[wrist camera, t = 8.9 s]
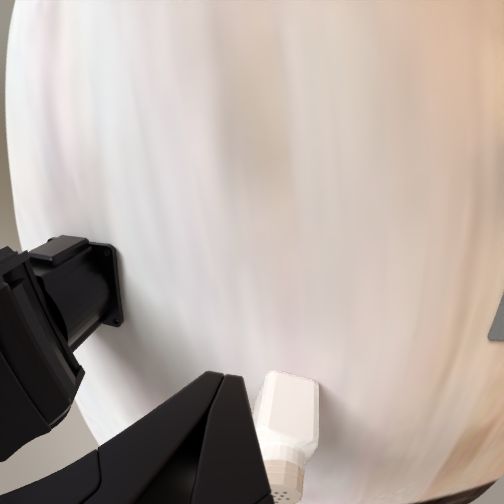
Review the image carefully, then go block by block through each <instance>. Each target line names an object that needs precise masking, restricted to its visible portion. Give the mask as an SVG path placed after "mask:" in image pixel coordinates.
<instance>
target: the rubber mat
mask: <svg viewBox="0 0 504 504" xmlns="http://www.w3.org/2000/svg"><path fill="white" fill-rule="evenodd" d="M488 338H489V339H490V340H504V293H503V297H502V299H501V302H500V305H499V308H498V311H497V314H496V316H495V319H494V322H493V324H492V327H491V329H490V332H489V334H488Z"/></svg>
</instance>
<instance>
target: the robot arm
mask: <svg viewBox="0 0 504 504" xmlns="http://www.w3.org/2000/svg"><path fill="white" fill-rule="evenodd" d="M107 250H109V252H110V254H108V252H107ZM116 319H117V320H118V321H116ZM101 324H106V325H110V326H114V327H120V326H121V325H122V324H123V313H122V306H121V298H120V290H119V281H118V272H117V262H116V251H115V248H114V247H113V246H112V245H111V244H105V243H96V242H89V240H88V239H87V238H82V237H73V236H65V235H62V236H60V237H58V238H56V237H52V238H50V239H49V240H48V241H47V243H45V244H43V245H41V246H39V247H37V248H35V249H33V250H31V251H29V252H28V251H27V250H26V251H23V252H21V253H19V254H18V252H17V251H16V252H14V251H13V250H12V249H10V248H9V247H8V246H7V247H4V248H2V249H0V462H3V461H5V460H7V459H8V458H9V457H10V456H11V455H12V454H14V453H15V452H16V451H17V450H18V449H20V448H21V447H22V446H23V445H25V444H26V443H28V442H30V441H31V440H33V439H35V438H36V437H39V436H41V435H44V434H46V433H49V432H50V431H51V429H53V428H54V427H55V426H57V425H58V424H59V423H60V422H61V421H62V420H63V419H64V418H65V417H66V416H67V414H68V412H69V410H70V408H71V405H72V403H73V400H74V398H75V396H76V393H77V391H78V388H79V386H80V384H81V381H82V379H83V377H84V375H85V371H84V369H83V368H82V366H81V365H79V363H78V361H77V360H76V358H75V356H74V354H73V352H74V351H75V350H76V349H77V348H78V347H79V346H80V345H81V344H82V343H83V342H84V341H85V340H86V339H87V338H88V337H89V336H90V335H91V334H92V333H93V332H94V331H95V330H96V329H97V328H98V327H99V326H100V325H101ZM271 493H272V491H271V487H270V484H269V480H268V476H267V472H266V468H265V465H264V461H263V457H262V453H261V449H260V445H259V441H258V437H257V433H256V429H255V425H254V421H253V417H252V412H251V408H250V404H249V400H248V396H247V392H246V387H245V383H244V379H243V377H242V376H237V375H230V374H226V375H225V376H224V374H223V373H219V372H213V371H206V372H205V373H203V374H202V375H201V376H199V377H198V378H197V379H195V380H194V381H193V382H191V383H190V384H188V385H187V386H186V387H184V388H183V389H182V390H180V391H179V392H178V393H176V394H175V395H173V396H172V397H171V398H169V399H168V400H167V401H165V402H164V403H162V404H161V405H160V406H158V407H157V408H155V409H154V410H153V411H151V412H150V413H148V414H147V415H145V416H144V417H143V418H141V419H140V420H138V421H137V422H135V423H134V424H132V425H131V426H129V427H128V428H127V429H125V430H124V431H122V432H121V433H119V434H118V435H116V436H115V437H113V438H112V439H110V440H109V441H107V442H106V443H104V444H103V445H101V446H100V447H98V450H96V449H95V450H94V451H92V452H90V453H88V454H87V455H85V456H84V457H82V458H81V459H79V460H77V461H75V462H74V463H72V464H70V465H68V466H67V467H65V468H63V469H61V470H59V471H57V472H55V473H53V474H51V475H49V476H47V477H45V478H42V479H40V480H38V481H35V482H33V483H31V484H28V485H26V486H23V487H21V488H19V489H16V490H13V491H11V492H8V493H6V494H3V495H0V504H275V502H274V498H273V495H272V494H271Z"/></svg>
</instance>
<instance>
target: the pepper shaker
mask: <svg viewBox="0 0 504 504" xmlns="http://www.w3.org/2000/svg"><path fill="white" fill-rule="evenodd" d="M252 417H253V421H254V425H255V429H256V433H257V437H258V441H259V445H260V449H261V453H262V457H263V461H264V465H265V468H266V472H267V476H268V480H269V484H270V487H271V491H272V493H271V494H272V495H273V498H274V502H275V504H295V503H297V502H299V501H300V500H301V497H302V494H303V481H304V479H303V478H304V469H303V466H304V465H305V464H306V463H307V462H308V461H309V459H310V458H311V457H312V455H313V454H314V452H315V450H316V449H317V447H318V441H319V385H318V383H317V382H316V381H314V380H312V379H308V378H304V377H300V376H296V375H293V374H289V373H285V372H282V371H278V370H271V371H270V372H269V373H268V374H267V375H266V378H265V380H264V382H263V385H262V387H261V389H260V392H259V394H258V397H257V399H256V402H255V406H254V411H253V416H252Z"/></svg>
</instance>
